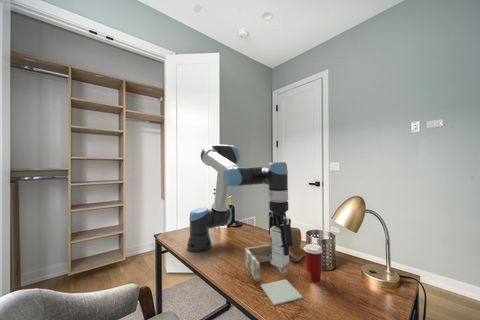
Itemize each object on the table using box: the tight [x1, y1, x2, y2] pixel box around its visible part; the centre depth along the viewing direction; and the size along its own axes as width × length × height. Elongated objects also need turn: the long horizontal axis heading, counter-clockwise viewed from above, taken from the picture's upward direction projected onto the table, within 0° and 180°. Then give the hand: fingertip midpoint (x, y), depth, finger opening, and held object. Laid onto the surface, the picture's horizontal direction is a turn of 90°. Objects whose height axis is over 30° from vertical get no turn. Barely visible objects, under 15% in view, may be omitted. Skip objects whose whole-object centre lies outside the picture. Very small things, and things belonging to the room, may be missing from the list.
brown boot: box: [289, 226, 305, 262], centre depth 109 cm, size 15×12×15 cm
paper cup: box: [303, 243, 323, 284], centre depth 87 cm, size 8×8×14 cm
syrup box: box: [269, 225, 289, 268], centre depth 78 cm, size 6×6×14 cm
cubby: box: [243, 243, 288, 283], centre depth 95 cm, size 16×15×8 cm
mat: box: [260, 279, 303, 306], centre depth 78 cm, size 12×12×1 cm
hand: (280, 258), depth 78 cm, fingers closed on syrup box, 7 cm apart
